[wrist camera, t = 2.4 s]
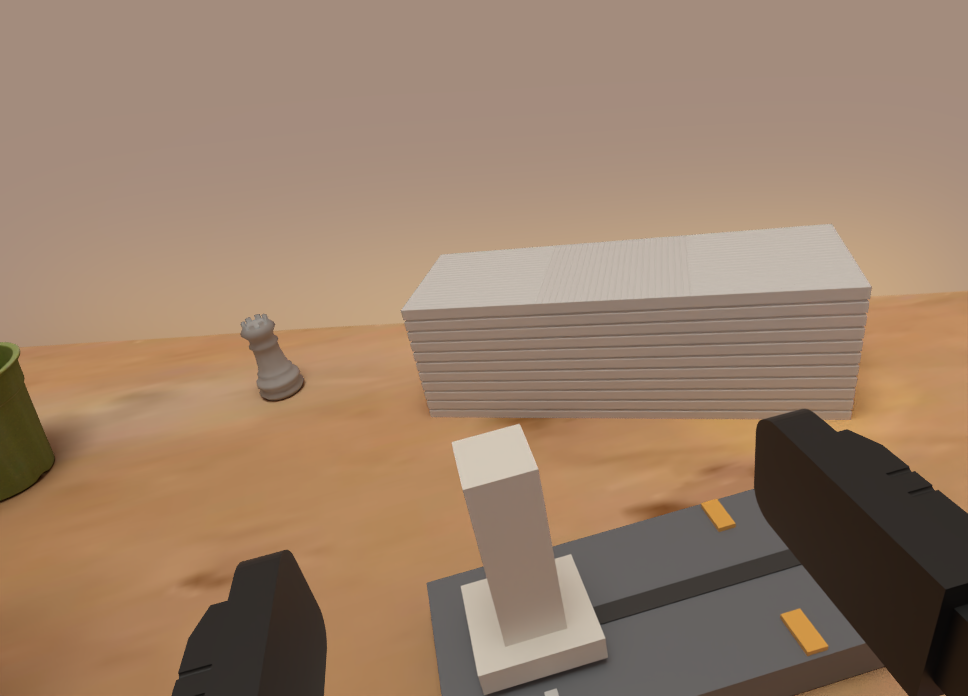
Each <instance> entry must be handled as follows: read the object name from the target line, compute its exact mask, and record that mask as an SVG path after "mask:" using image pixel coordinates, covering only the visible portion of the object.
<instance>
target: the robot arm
mask: <svg viewBox="0 0 968 696" xmlns="http://www.w3.org/2000/svg"><path fill="white" fill-rule="evenodd" d="M754 490H755V496H756V500H757V503H758V505H759V508H760V510H761V512H762V514H763V516H764V518H765V519H766V521H767V522H768V524H769V525H770V526H771V527H772V529H773V530H774V531H775V532H776V534H777V535H778V536H779V537H780V538H781V540H782V541H783V542H784V543H785V545H786V546H787V547H788V548H789V550H790V551H791V552H792V553H793V554H794V556H795V557H796V558H797V559H798V561H799V562H800V563H801V564H802V565H803V567H804V568H805V569H806V570H807V572H808V573H809V574H810V575H811V576H812V578H813V579H814V580H815V581H816V583H817V584H818V585H819V586H820V588H821V589H822V590H823V591H824V592H825V594H826V595H827V596H828V597H829V599H830V600H831V601H832V602H833V603H834V605H835V606H836V607H837V608H838V610H839V611H840V612H841V613H842V614H843V616H844V617H845V618H846V619H847V621H848V622H849V623H850V624H851V626H852V627H853V628H854V629H855V630H856V632H857V633H858V634H859V635H860V637H861V638H862V639H863V640H864V641H865V643H866V644H867V645H868V646H869V648H870V649H871V650H872V651H873V652H874V654H875V655H876V656H877V657H878V659H879V660H880V661H881V662H882V664H883V665H884V666H885V667H886V668H887V670H888V671H889V672H890V673H891V675H892V676H893V677H894V678H895V679H896V681H897V682H898V683H899V684H900V686H901V687H902V688H903V689H904V691H905V692H906V693H907V694H908V695H909V696H940V695H943V694H945V695H946V696H968V513H966V512H965V511H964V510H963V509H961V508H960V507H959V506H958V505H956V504H955V503H954V502H953V501H951V500H950V499H949V498H948V497H946V496H945V495H944V494H943V493H941V492H940V491H939V490H936V491H935V490H934V489H933V487H932V485H931V484H930V483H929V482H928V481H926V480H925V479H924V478H923V477H921V476H920V475H919V474H918V473H916V472H915V471H914V472H911V470H910V468H909V466H908V465H906V464H905V463H904V462H903V461H901V460H900V459H899V458H898V457H897V456H895V455H894V454H893V453H892V452H890V451H889V450H888V449H887V448H885V447H884V446H883V445H881V444H879V443H877V442H874V441H872V440H870V439H868V438H865V437H863V436H861V435H859V434H856V433H854V432H852V431H850V430H843V431H839V432H836V431H835V430H834V429H833V428H832V427H830V426H829V425H828V424H827V423H826V422H825V421H823V420H822V419H821V418H820V417H819V416H818V415H816V414H815V413H814V412H812V411H811V410H809V409H799V410H795V411H792V412H788V413H784V414H781V415H777V416H773V417H769V418H766V419H762V420H760V421H759V422H758V424H757V428H756V448H755V476H754ZM326 653H327V639H326V630H325V624H324V620H323V616H322V613H321V610H320V608H319V606H318V604H317V602H316V600H315V598H314V596H313V594H312V592H311V590H310V588H309V586H308V584H307V582H306V580H305V578H304V576H303V574H302V572H301V570H300V568H299V566H298V564H297V562H296V560H295V558H294V556H293V554H292V553H291V552H290V551H289V550H283V551H280V552H276V553H272V554H269V555H265V556H261V557H258V558H254V559H250V560H246V561H243V562H240V563H239V564H238V566H237V568H236V570H235V573H234V577H233V581H232V585H231V589H230V594H229V598H228V601H225V602H221V603H217V604H214V605H210V607H209V608H208V610H207V611H206V613H205V614H204V616H203V617H202V619H201V620H200V622H199V623H198V625H197V626H196V628H195V629H194V631H193V632H192V634H191V635H190V637H189V638H188V642H187V645H186V649H185V652H184V655H183V659H182V662H181V666H180V669H179V672H178V674H179V680H176V683H175V686H174V689H173V693H172V696H324V684H325V669H326Z"/></svg>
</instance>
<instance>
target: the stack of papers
mask: <svg viewBox="0 0 968 696" xmlns="http://www.w3.org/2000/svg"><path fill="white" fill-rule="evenodd" d="M871 289H872V287H871V285H870V283H869V282H868V280H867V279H866V277H865V275H864V274H863V272H862V271H861V269H860V268H859V266H858V264H857V263H856V261H855V260H854V258H853V256H852V255H851V253H850V252H849V250H848V249H847V247H846V245H845V244H844V242H843V241H842V239H841V237H840V236H839V234H838V233H837V231H836V229H835V228H834V226H833V225H832V224H824V225H812V226H799V227H786V228H773V229H762V230H748V231H737V232H723V233H711V234H698V235H685V236H673V237H659V238H646V239H634V240H622V241H608V242H597V243H584V244H570V245H558V246H545V247H532V248H520V249H507V250H494V251H482V252H470V253H456V254H444V255H441V256H440V257H439V259H438V260H437V261H436V262H435V264H434V265H433V267H432V268H431V269H430V271H429V272H428V274H427V275H426V277H425V278H424V279H423V281H422V282H421V283H420V285H419V286H418V287H417V289H416V290H415V292H414V293H413V294H412V296H411V297H410V299H409V300H408V302H407V303H406V304H405V306H404V307H403V308H402V310H401V313H402V317H403V320H406V321H405V323H404V324H405V327H406V331H409V332H408V333H407V334H408V338H409V341H412V342H411V344H410V345H411V348H412V351H415V352H414V353H413V355H414V359H415V361H417V363H416V366H417V370H418V371H420V372H419V377H420V380H421V381H422V383H421V384H422V387H423V390H425V392H424V394H425V398H426V400H428V401H427V405H428V408H429V409H430V411H429V412H430V415H431V417H494V418H647V419H766V418H769V417H773V416H777V415H781V414H784V413H788V412H792V411H795V410H799V409H809V410H811V411H812V412H814V413H815V414H816V415H818V416H819V417H820V418H821V419H822V420H851V415H852V411H851V409H853V403H854V401H853V398H854V396H855V388H854V387H856V384H857V377H856V375H858V371H859V365H858V363H860V358H861V353H860V351H862V346H863V341H862V339H864V333H865V328H864V326H866V321H867V315H866V313H867V312H868V308H869V301H868V300H867V299H870V295H871Z"/></svg>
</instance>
